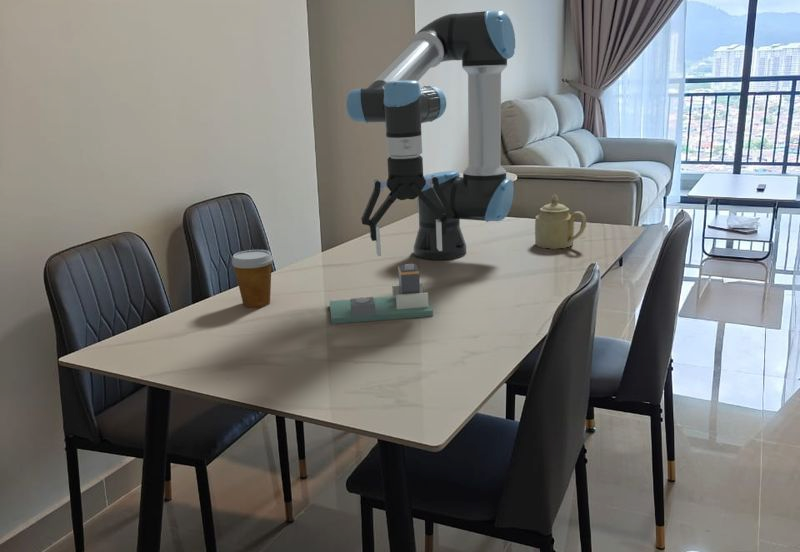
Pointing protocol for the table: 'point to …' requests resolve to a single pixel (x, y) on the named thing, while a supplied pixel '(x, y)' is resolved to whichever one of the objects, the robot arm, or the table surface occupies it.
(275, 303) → the table surface
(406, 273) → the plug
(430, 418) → the table surface
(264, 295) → the disposable coffee cup
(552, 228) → the pale yellow ceramic pot
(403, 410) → the table surface
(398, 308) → the board
